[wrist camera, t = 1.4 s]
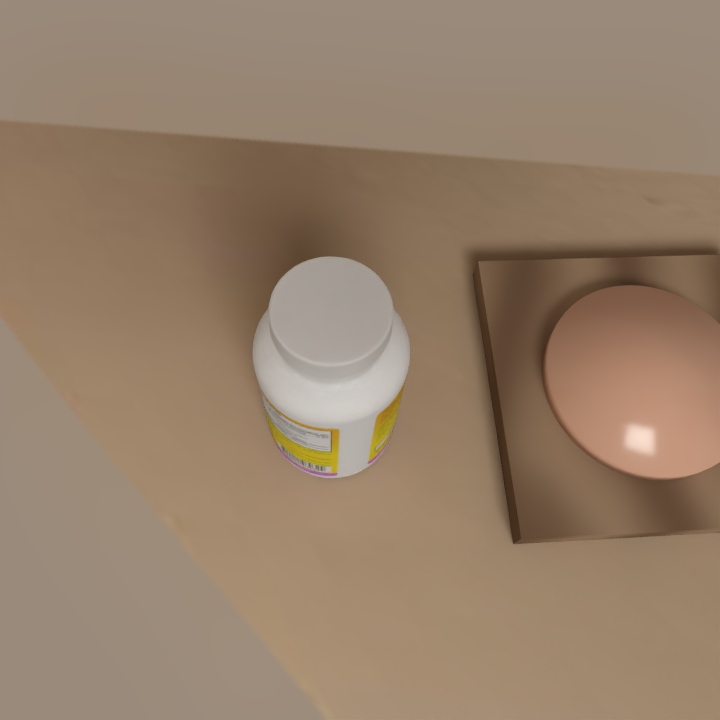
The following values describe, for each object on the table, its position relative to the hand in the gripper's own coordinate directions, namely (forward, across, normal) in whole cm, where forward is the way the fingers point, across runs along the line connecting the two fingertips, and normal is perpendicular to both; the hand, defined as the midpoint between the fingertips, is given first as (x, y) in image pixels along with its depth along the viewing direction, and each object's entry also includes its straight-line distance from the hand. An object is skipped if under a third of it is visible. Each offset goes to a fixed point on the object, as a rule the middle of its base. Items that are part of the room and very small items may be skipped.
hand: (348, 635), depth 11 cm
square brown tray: (+25, +18, -7) cm, 31 cm away
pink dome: (+24, +18, -6) cm, 30 cm away
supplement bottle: (+25, +1, -8) cm, 26 cm away
